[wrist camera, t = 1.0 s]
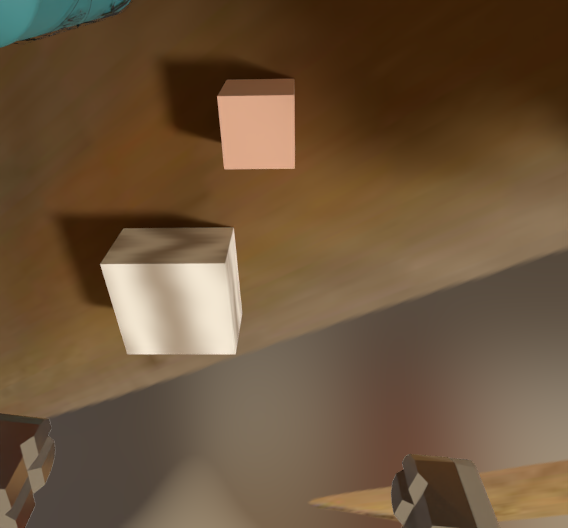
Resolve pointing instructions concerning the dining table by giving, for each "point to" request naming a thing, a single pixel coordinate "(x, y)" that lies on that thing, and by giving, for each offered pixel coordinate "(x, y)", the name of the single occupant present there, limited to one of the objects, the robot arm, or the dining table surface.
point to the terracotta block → (257, 123)
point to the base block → (175, 290)
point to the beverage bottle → (50, 16)
